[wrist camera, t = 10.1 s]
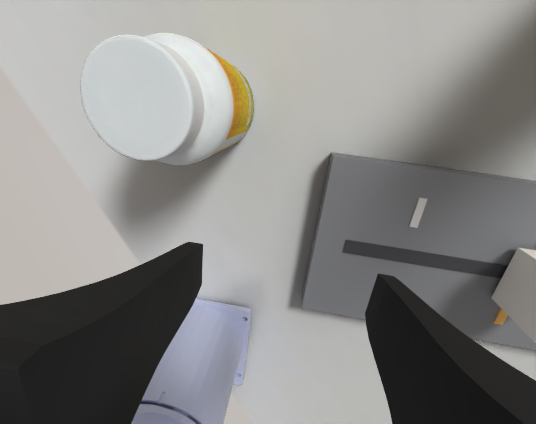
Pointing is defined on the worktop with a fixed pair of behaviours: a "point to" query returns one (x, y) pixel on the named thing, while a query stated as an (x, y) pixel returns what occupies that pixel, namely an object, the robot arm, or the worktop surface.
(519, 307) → the fader cap
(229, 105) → the supplement bottle
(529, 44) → the worktop surface
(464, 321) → the fader console
